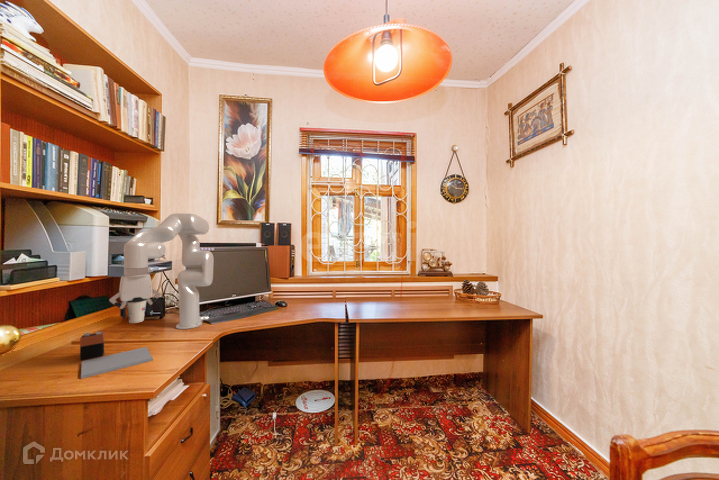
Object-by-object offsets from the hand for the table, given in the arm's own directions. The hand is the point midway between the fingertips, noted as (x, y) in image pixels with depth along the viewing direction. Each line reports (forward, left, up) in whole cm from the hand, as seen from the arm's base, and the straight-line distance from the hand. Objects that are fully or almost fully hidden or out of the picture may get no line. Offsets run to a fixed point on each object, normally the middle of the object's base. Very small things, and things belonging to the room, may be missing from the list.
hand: (136, 315), depth 109 cm
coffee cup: (0, 0, -3) cm, 3 cm away
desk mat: (+6, -2, -18) cm, 19 cm away
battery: (+13, -16, -18) cm, 27 cm away
